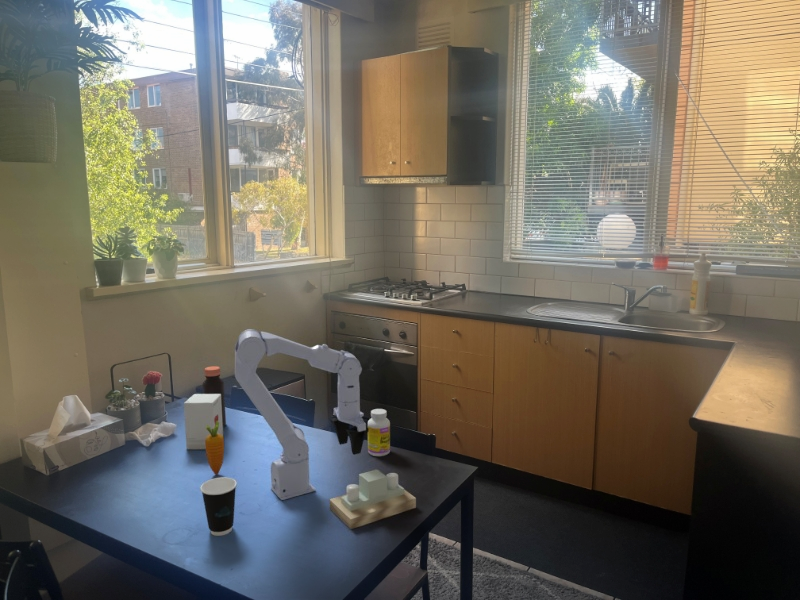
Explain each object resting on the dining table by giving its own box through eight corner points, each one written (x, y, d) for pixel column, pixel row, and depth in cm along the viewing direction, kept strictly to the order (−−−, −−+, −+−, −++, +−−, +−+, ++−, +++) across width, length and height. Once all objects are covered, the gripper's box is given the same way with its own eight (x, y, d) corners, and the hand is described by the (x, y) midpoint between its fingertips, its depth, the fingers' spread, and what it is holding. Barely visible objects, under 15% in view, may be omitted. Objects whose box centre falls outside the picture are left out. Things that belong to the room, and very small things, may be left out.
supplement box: (215, 450, 180) (212, 402, 178) (185, 450, 180) (182, 402, 178) (224, 438, 189) (221, 393, 187) (196, 438, 189) (193, 393, 187)
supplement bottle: (380, 459, 173) (380, 417, 171) (363, 453, 177) (362, 412, 175) (394, 451, 179) (394, 410, 176) (377, 446, 182) (377, 406, 180)
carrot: (208, 480, 161) (205, 427, 158) (205, 472, 165) (202, 421, 163) (227, 476, 163) (224, 424, 161) (224, 469, 167) (221, 418, 165)
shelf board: (350, 529, 136) (350, 519, 136) (329, 508, 145) (329, 499, 145) (415, 507, 146) (415, 498, 145) (392, 489, 155) (392, 480, 154)
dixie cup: (224, 542, 131) (221, 496, 129) (195, 535, 134) (192, 489, 132) (246, 524, 138) (244, 480, 137) (218, 518, 141) (215, 474, 139)
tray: (350, 511, 139) (350, 487, 138) (341, 502, 143) (340, 479, 142) (404, 494, 147) (404, 471, 146) (393, 486, 151) (393, 464, 150)
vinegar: (201, 428, 197) (197, 370, 194) (211, 421, 204) (207, 364, 201) (220, 429, 196) (217, 371, 193) (229, 422, 203) (226, 365, 200)
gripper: (375, 404, 152) (376, 454, 154) (349, 389, 164) (350, 436, 166) (351, 409, 148) (352, 460, 150) (326, 394, 160) (327, 441, 162)
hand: (349, 448), depth 158 cm, fingers open, 7 cm apart
